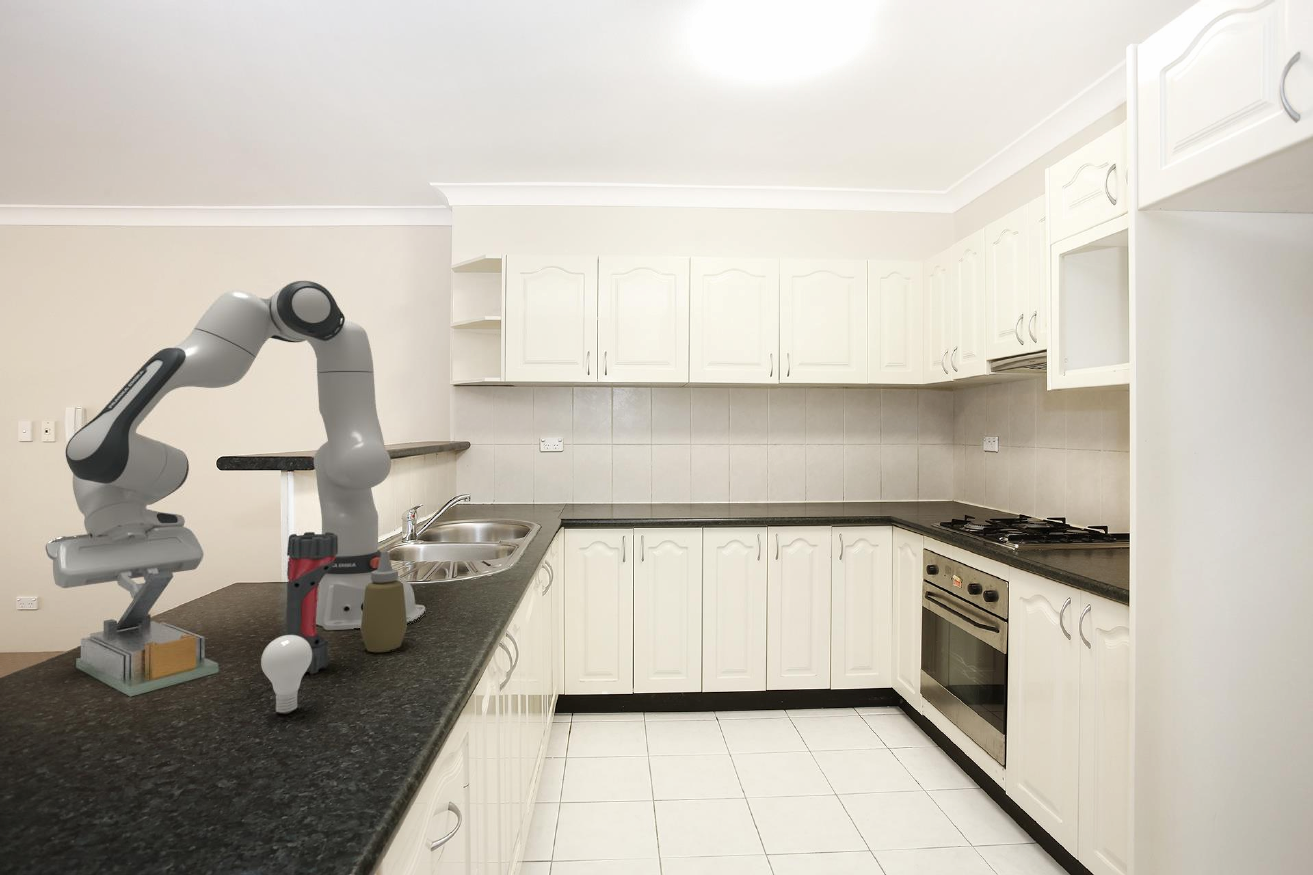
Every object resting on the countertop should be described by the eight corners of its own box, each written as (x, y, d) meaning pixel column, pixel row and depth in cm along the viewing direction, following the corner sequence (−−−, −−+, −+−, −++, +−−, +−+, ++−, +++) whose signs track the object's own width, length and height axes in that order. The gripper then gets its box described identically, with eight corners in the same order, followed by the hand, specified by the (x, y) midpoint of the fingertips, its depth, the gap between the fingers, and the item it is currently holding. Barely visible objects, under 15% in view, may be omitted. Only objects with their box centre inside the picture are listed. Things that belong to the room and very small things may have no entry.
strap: (116, 631, 111) (115, 626, 112) (137, 627, 114) (136, 622, 114) (151, 579, 104) (150, 574, 104) (173, 576, 106) (171, 571, 107)
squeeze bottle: (361, 658, 115) (362, 557, 115) (359, 644, 122) (359, 549, 122) (409, 651, 119) (410, 553, 119) (404, 639, 126) (405, 546, 126)
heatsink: (76, 667, 109) (76, 623, 109) (160, 648, 119) (160, 607, 119) (130, 696, 97) (130, 646, 97) (218, 672, 108) (218, 627, 108)
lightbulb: (288, 724, 89) (289, 644, 89) (249, 720, 90) (250, 641, 90) (321, 705, 95) (322, 630, 95) (284, 701, 96) (284, 627, 96)
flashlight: (346, 664, 112) (347, 532, 112) (310, 680, 104) (311, 538, 104) (311, 659, 114) (312, 529, 114) (272, 674, 107) (274, 536, 107)
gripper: (47, 526, 104) (68, 595, 99) (192, 514, 121) (217, 572, 116) (37, 551, 106) (58, 620, 101) (181, 536, 123) (205, 594, 118)
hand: (144, 594), depth 109 cm, fingers closed, pressing on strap
